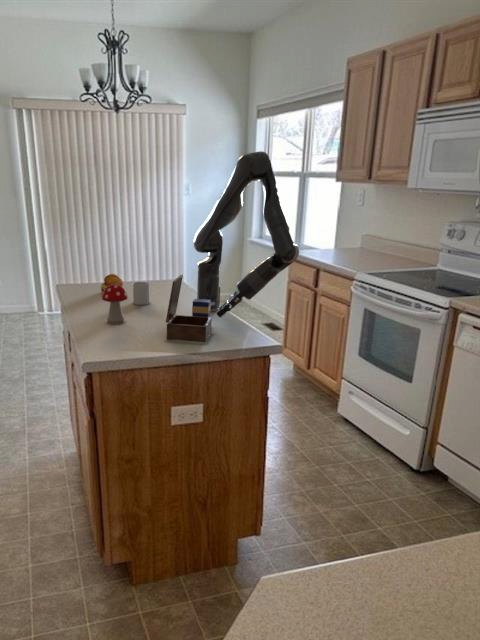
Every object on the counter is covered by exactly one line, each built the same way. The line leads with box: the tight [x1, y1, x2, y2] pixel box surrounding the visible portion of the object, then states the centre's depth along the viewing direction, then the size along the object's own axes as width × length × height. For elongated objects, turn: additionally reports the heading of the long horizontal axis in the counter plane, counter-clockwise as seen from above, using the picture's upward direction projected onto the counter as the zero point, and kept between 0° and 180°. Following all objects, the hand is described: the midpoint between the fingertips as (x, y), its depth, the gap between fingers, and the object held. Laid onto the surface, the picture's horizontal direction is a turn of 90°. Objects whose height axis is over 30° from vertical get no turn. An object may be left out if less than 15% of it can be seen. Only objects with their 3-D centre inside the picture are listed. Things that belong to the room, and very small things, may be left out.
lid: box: [165, 274, 184, 324], centre depth 187 cm, size 15×13×1 cm
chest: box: [166, 314, 213, 343], centre depth 190 cm, size 14×13×6 cm
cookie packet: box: [191, 298, 211, 317], centre depth 200 cm, size 6×5×11 cm
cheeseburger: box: [99, 273, 124, 293], centre depth 256 cm, size 10×11×10 cm
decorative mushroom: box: [101, 284, 129, 325], centre depth 206 cm, size 10×9×15 cm
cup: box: [132, 281, 150, 306], centre depth 238 cm, size 7×10×9 cm
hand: (219, 312), depth 198 cm, fingers open, 8 cm apart
